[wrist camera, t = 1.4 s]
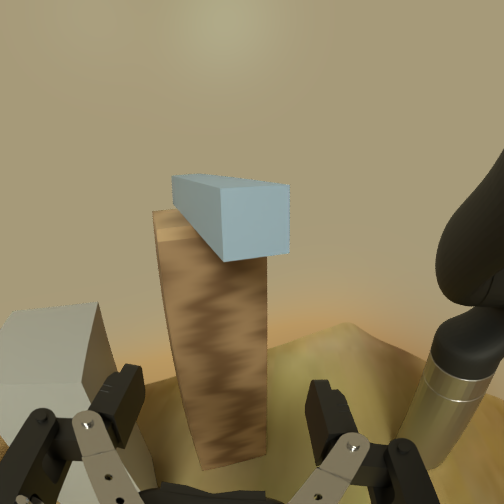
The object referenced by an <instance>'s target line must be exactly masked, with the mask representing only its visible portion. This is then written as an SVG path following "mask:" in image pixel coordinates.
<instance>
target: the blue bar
mask: <svg viewBox="0 0 504 504" xmlns="http://www.w3.org/2000/svg"><path fill="white" fill-rule="evenodd" d="M172 193H173V204H174V206H175V207H176V208H177V209H178V210H179V211H180V213H181V214H182V215H183V216H184V217H185V218H186V220H187V221H188V222H189V223H190V224H191V225H192V227H193V228H194V229H195V230H196V231H197V232H198V233H199V235H200V236H201V237H202V238H203V239H204V240H205V241H206V243H207V244H208V245H209V246H210V247H211V248H212V249H213V251H214V252H215V253H216V254H217V255H218V256H219V257H220V259H221V260H222V261H223V262H228V261H236V260H243V259H250V258H258V257H265V256H272V255H279V254H286V253H289V240H290V239H289V236H290V185H286V184H279V183H272V182H265V181H258V180H250V179H242V178H234V177H226V176H216V175H206V174H188V175H176V176H172Z"/></svg>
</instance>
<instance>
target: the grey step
mask: <svg viewBox="0 0 504 504" xmlns="http://www.w3.org/2000/svg"><path fill="white" fill-rule="evenodd" d="M114 372H118V371H117V368H116V365H115V362H114V358H113V355H112V352H111V348H110V345H109V342H108V338H107V334H106V331H105V327H104V323H103V319H102V315H101V311H100V307H99V303H98V302H92V303H85V304H75V305H67V306H58V307H48V308H39V309H29V310H20V311H13V312H12V313H11V315H10V316H9V317H8V319H7V320H6V322H5V323H4V325H3V326H2V328H1V329H0V435H1V437H2V438H3V439H4V441H5V442H6V443H7V445H8V446H9V447H10V445H11V443H12V442H13V440H14V438H15V437H16V435H17V434H18V432H19V430H20V429H21V427H22V426H23V424H24V422H25V421H26V419H27V418H28V416H29V415H30V413H31V412H32V411H34V410H35V409H38V408H48V409H50V410H52V411H53V412H54V414H55V416H56V417H58V418H73V417H74V416H75V415H76V414H77V413H79V412H81V411H85V410H88V408H89V406H90V405H91V403H92V401H93V400H94V398H95V396H96V395H97V393H98V391H100V388H101V386H102V385H103V383H104V382H105V380H106V378H107V377H108V376H109V375H111V374H112V373H114ZM116 451H117V453H118V455H119V457H120V459H121V461H122V463H123V465H124V467H125V469H126V471H127V473H128V475H129V477H130V479H131V481H132V483H133V485H134V486H135V488H136V490H137V492H140V491H143V490H146V489H150V488H158V486H157V482H156V477H155V472H154V466H153V461H152V456H151V454H150V452H149V450H148V448H147V445H146V443H145V441H144V439H143V436H142V434H141V432H140V429H139V427H138V425H137V422H135V425H134V427H133V430H132V432H131V435H130V437H129V440H128V442H127V445H126V448H125V449H122V448H118V447H117V449H116ZM57 500H58V501H59V502H60V503H61V504H100V503H99V501H98V499H97V497H96V494H95V492H94V490H93V487H92V485H91V482H90V480H89V477H88V475H87V472H86V469H85V467H84V464H83V461H72V464H71V466H70V469H69V471H68V473H67V476H66V478H65V481H64V484H63V486H62V489H61V491H60V494H59V496H58V499H57Z"/></svg>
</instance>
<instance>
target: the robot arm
mask: <svg viewBox="0 0 504 504" xmlns="http://www.w3.org/2000/svg"><path fill="white" fill-rule="evenodd" d="M435 267H436V268H435V269H436V277H437V282H438V285H439V287H440V289H441V291H442V292H443V294H444V295H445V296H446V297H447V298H448V299H449V300H450V301H452V302H454V303H456V304H460V305H464V306H475V307H473V308H472V309H470V310H469V311H467V312H465V313H463V314H461V315H458V316H456V317H453V318H450V319H448V320H447V321H445V322H443V323H442V324H441V325H440V326H439V328H438V329H437V331H436V333H435V336H434V340H433V343H432V346H431V350H430V353H429V356H428V359H427V362H426V365H425V368H424V371H423V374H422V377H421V379H420V382H419V385H418V387H417V390H416V393H415V395H414V398H413V400H412V402H411V405H410V407H409V410H408V412H407V414H406V417H405V419H404V421H403V423H402V425H401V427H400V430H399V432H398V434H397V436H396V438H395V439H394V440H392V441H391V442H390V443H389V445H381V444H373V443H370V442H369V441H368V439H367V438H366V437H365V436H363V435H361V434H359V433H358V430H357V427H356V425H355V422H354V419H353V417H352V414H351V412H350V409H349V406H348V405H347V401H346V399H345V396H344V395H343V394H342V393H341V392H340V391H339V390H338V389H337V390H331V387H330V384H329V381H328V380H312V381H311V383H310V387H309V391H308V395H307V399H306V404H305V415H306V420H307V425H308V429H309V434H310V439H311V444H312V448H313V453H314V458H315V463H316V466H319V465H320V467H317V468H316V469H315V470H314V471H313V473H312V474H311V475H310V477H309V478H308V479H307V480H306V482H305V483H304V484H303V485H302V487H301V488H300V489H299V490H298V492H297V493H296V494H295V495H294V496H293V498H292V499H291V500H290V501H289V502H288V503H287V504H338V502H339V501H340V499H341V497H342V496H343V494H344V493H345V491H346V490H347V488H348V486H349V485H350V484H351V485H359V486H367V487H368V491H369V495H370V499H371V504H440V502H439V499H438V497H437V494H436V492H435V489H434V487H433V484H432V482H431V480H430V477H429V475H428V472H427V470H430V469H433V468H435V467H437V466H439V465H440V464H441V463H442V462H443V461H444V460H445V458H446V457H447V456H448V454H449V453H450V451H451V450H452V448H453V447H454V445H455V444H456V443H457V441H458V440H459V438H460V436H461V435H462V433H463V432H464V430H465V428H466V427H467V425H468V423H469V422H470V420H471V418H472V417H473V415H474V413H475V411H476V410H477V408H478V406H479V404H480V402H481V400H482V398H483V397H484V395H485V393H486V390H487V388H488V386H489V384H490V382H491V380H492V378H493V376H494V374H495V371H496V369H497V367H498V365H499V363H500V361H501V360H502V359H503V358H504V149H503V151H502V153H501V155H500V156H499V158H498V159H497V161H496V162H495V164H494V166H493V167H492V169H491V170H490V171H489V173H488V174H487V175H486V177H485V178H484V179H483V181H482V182H481V183H480V184H479V185H478V187H477V188H476V189H475V190H474V191H473V192H472V194H471V195H470V196H469V197H468V198H467V199H466V200H465V201H464V203H463V204H462V205H461V206H460V207H459V208H458V209H457V211H456V212H455V213H454V214H453V216H452V217H451V219H450V220H449V222H448V223H447V225H446V227H445V229H444V231H443V234H442V236H441V239H440V242H439V245H438V249H437V254H436V263H435ZM144 399H145V386H144V379H143V373H142V368H141V366H137V365H131V364H125V365H124V366H123V368H122V370H121V372H120V373H119V372H114V373H112V374H111V375H109V376H108V377H107V378H106V380H105V382H104V383H103V385H102V386H101V388H100V391H98V393H97V395H96V396H95V398H94V400H93V401H92V403H91V405H90V406H89V408H88V410H85V411H81V412H79V413H77V414H76V415H75V416H74V417H73V418H58V417H56V416H55V414H54V412H53V411H52V410H50V409H48V408H38V409H35V410H34V411H32V412H31V413H30V415H29V416H28V418H27V419H26V421H25V422H24V424H23V426H22V427H21V429H20V430H19V432H18V434H17V435H16V437H15V438H14V440H13V442H12V443H11V445H10V447H9V448H8V450H7V452H6V454H5V455H4V457H3V459H2V461H1V462H0V504H56V502H57V499H58V496H59V494H60V491H61V489H62V486H63V484H64V481H65V478H66V476H67V473H68V471H69V469H70V466H71V464H72V461H83V464H84V467H85V469H86V472H87V475H88V477H89V480H90V482H91V485H92V487H93V490H94V492H95V494H96V497H97V499H98V501H99V503H100V504H284V503H282V502H280V501H277V500H275V499H271V498H267V497H265V491H241V490H239V491H232V492H225V493H216V494H212V493H208V492H205V491H201V490H198V489H195V488H192V487H189V486H186V485H180V484H173V483H167V482H162V483H161V487H160V488H150V489H146V490H143V491H140V492H137V490H136V488H135V486H134V485H133V483H132V481H131V479H130V477H129V475H128V473H127V471H126V469H125V467H124V465H123V463H122V461H121V459H120V457H119V455H118V453H117V451H116V449H117V447H118V448H122V449H125V448H126V445H127V442H128V440H129V437H130V435H131V432H132V430H133V427H134V425H135V422H136V420H137V417H138V415H139V412H140V410H141V407H142V405H143V403H144Z"/></svg>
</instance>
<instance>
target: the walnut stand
mask: <svg viewBox="0 0 504 504" xmlns="http://www.w3.org/2000/svg"><path fill="white" fill-rule="evenodd" d="M153 224H154V234H155V244H156V253H157V261H158V269H159V277H160V285H161V291H162V298H163V305H164V311H165V317H166V323H167V329H168V334H169V340H170V346H171V351H172V356H173V361H174V366H175V370H176V376H177V380H178V385H179V389H180V394H181V398H182V402H183V406H184V410H185V414H186V418H187V422H188V426H189V429H190V433H191V436H192V439H193V442H194V446H195V449H196V452H197V455H198V458H199V461H200V464H201V467H202V470H203V471H204V470H209V469H213V468H218V467H222V466H226V465H230V464H234V463H238V462H242V461H246V460H249V459H253V458H256V457H260V456H263V455H266V424H267V256H265V257H258V258H250V259H243V260H236V261H228V262H223V261H222V260H221V259H220V257H219V256H218V255H217V254H216V253H215V252H214V251H213V249H212V248H211V247H210V246H209V245H208V244H207V243H206V241H205V240H204V239H203V238H202V237H201V236H200V235H199V233H198V232H197V231H196V230H195V229H194V228H193V227H192V225H191V224H190V223H189V222H188V221H187V220H186V218H185V217H184V216H183V215H182V214H181V213H180V211H179V210H178V209H170V210H161V211H153Z"/></svg>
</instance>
